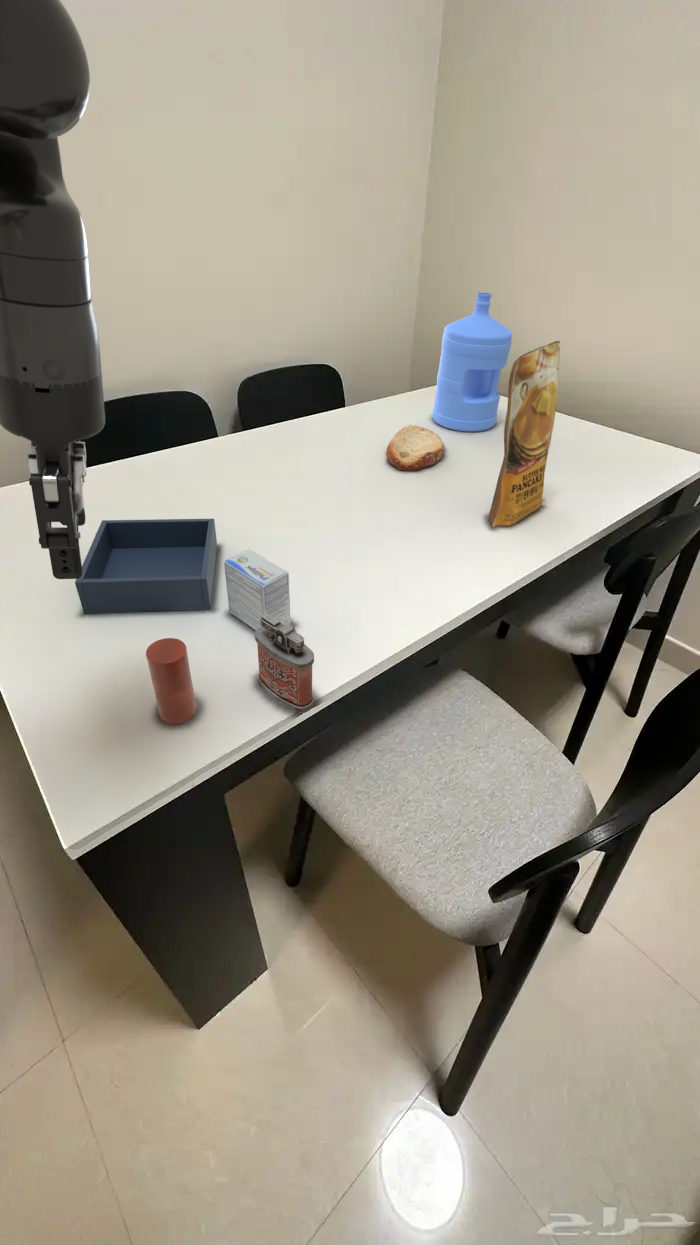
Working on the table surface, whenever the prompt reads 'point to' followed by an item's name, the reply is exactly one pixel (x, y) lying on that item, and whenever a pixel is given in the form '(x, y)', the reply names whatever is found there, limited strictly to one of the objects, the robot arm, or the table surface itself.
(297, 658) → the lighter
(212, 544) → the bin
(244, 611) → the medicine box
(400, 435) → the slice of bread
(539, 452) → the pancake mix bag
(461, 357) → the water jug
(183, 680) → the terracotta red cylinder
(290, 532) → the table surface
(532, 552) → the table surface
